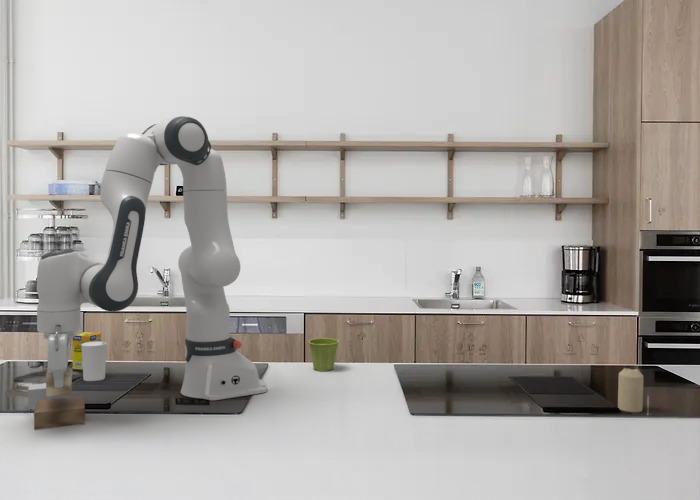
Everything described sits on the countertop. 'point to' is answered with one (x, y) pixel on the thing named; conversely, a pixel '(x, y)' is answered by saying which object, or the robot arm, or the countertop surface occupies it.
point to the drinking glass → (93, 360)
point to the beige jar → (630, 390)
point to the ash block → (63, 390)
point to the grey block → (36, 394)
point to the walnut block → (59, 412)
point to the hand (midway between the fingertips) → (59, 383)
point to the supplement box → (77, 348)
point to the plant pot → (323, 353)
